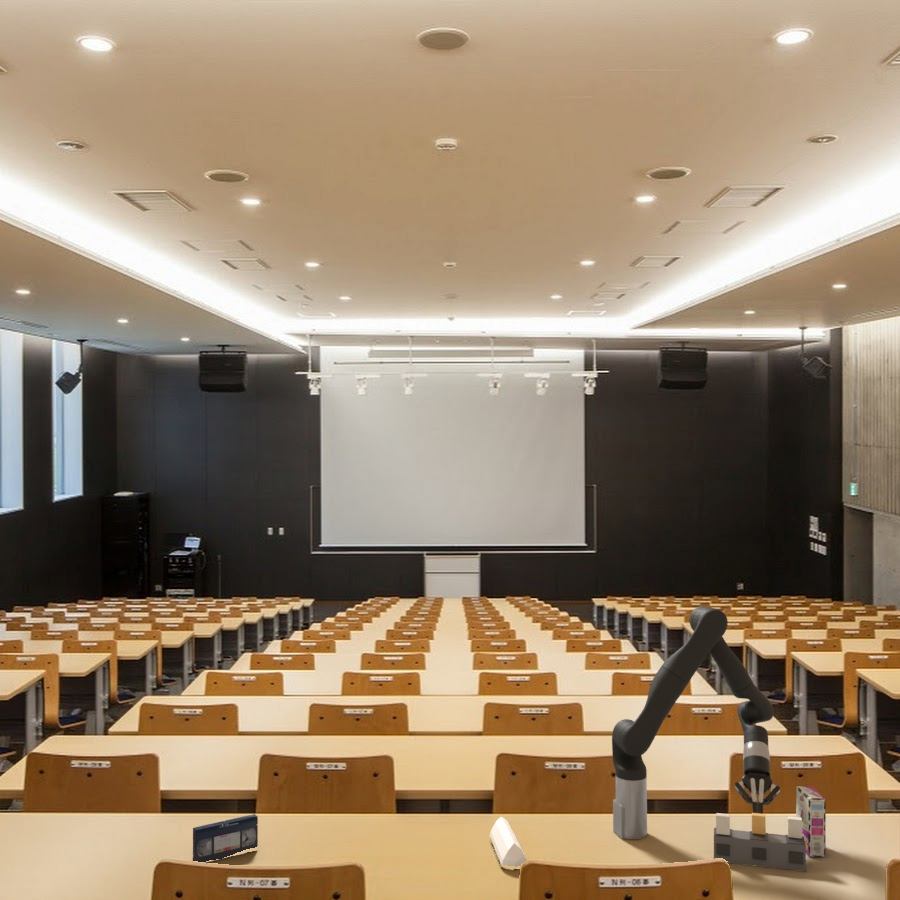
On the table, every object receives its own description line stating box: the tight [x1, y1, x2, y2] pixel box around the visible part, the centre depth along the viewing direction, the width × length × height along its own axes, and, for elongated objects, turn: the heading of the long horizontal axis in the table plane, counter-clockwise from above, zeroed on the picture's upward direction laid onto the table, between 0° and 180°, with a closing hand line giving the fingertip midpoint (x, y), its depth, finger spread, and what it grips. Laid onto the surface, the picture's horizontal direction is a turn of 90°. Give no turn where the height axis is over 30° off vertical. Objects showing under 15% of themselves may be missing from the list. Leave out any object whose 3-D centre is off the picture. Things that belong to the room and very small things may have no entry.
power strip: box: [713, 827, 807, 872], centre depth 261 cm, size 24×6×7 cm, turn 73°
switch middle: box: [751, 812, 767, 835], centre depth 262 cm, size 4×2×5 cm, turn 73°
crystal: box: [489, 816, 528, 867], centre depth 267 cm, size 7×7×24 cm
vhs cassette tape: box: [192, 813, 259, 862], centre depth 266 cm, size 18×3×10 cm, turn 122°
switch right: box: [787, 816, 802, 838], centre depth 260 cm, size 4×2×5 cm, turn 73°
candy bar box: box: [795, 785, 827, 858], centre depth 269 cm, size 11×5×16 cm, turn 178°
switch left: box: [715, 812, 731, 835], centre depth 262 cm, size 4×2×5 cm, turn 73°
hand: (758, 817), depth 266 cm, fingers closed
